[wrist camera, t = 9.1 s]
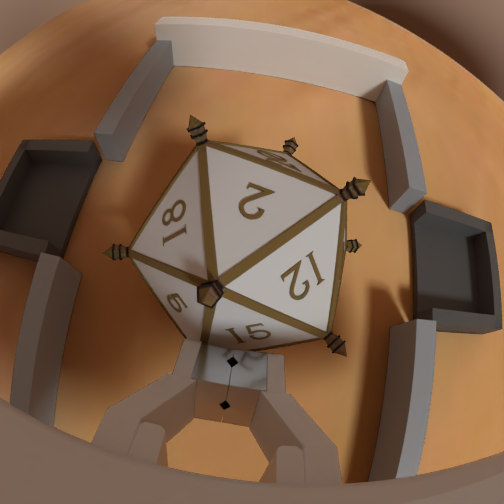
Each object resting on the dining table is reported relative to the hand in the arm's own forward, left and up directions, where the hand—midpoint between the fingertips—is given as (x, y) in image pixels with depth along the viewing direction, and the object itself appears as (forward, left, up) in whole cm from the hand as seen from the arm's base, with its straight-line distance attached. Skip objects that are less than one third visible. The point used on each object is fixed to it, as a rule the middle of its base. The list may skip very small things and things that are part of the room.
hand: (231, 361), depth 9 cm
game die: (0, +4, -5) cm, 6 cm away
